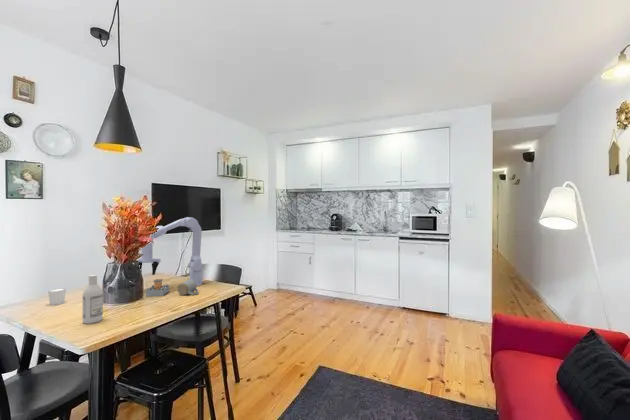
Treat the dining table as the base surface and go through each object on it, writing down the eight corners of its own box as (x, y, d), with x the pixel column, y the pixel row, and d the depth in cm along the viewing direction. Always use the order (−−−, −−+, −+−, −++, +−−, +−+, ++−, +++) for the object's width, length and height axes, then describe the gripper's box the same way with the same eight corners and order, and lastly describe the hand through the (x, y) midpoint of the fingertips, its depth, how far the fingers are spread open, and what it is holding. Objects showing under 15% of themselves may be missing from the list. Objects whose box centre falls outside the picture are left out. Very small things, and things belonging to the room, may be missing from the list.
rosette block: (152, 291, 172) (152, 285, 172) (168, 291, 173) (169, 284, 173) (146, 296, 163) (146, 289, 163) (163, 295, 164) (163, 288, 164)
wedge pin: (156, 292, 170) (156, 279, 170) (162, 292, 170) (162, 279, 170) (153, 294, 166) (153, 280, 166) (159, 294, 167) (160, 280, 167)
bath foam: (106, 317, 131) (106, 273, 131) (96, 323, 124) (96, 276, 124) (89, 318, 130) (89, 273, 130) (78, 324, 123) (78, 277, 123)
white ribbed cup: (49, 306, 145) (50, 292, 145) (46, 303, 150) (46, 290, 150) (67, 303, 151) (67, 289, 151) (63, 300, 155) (64, 287, 155)
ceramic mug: (176, 295, 165) (176, 281, 165) (185, 291, 173) (185, 278, 173) (192, 296, 163) (193, 283, 163) (201, 292, 171) (201, 279, 171)
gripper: (130, 253, 168) (130, 276, 168) (157, 252, 170) (157, 275, 170) (136, 251, 175) (136, 273, 175) (161, 251, 177) (161, 273, 177)
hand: (146, 274), depth 173 cm, fingers open, 7 cm apart
